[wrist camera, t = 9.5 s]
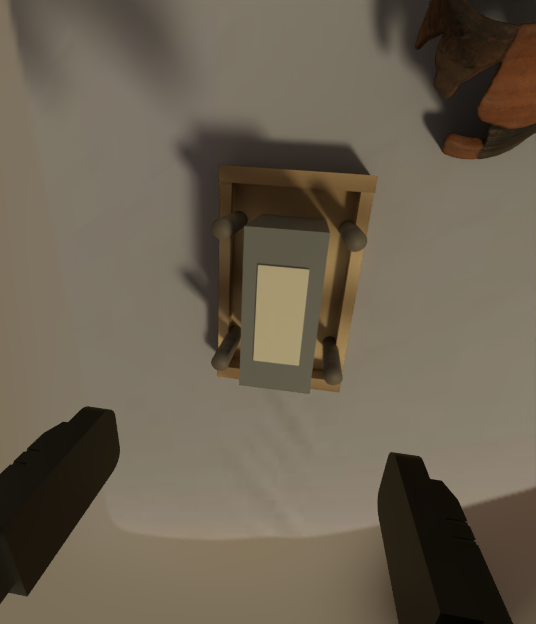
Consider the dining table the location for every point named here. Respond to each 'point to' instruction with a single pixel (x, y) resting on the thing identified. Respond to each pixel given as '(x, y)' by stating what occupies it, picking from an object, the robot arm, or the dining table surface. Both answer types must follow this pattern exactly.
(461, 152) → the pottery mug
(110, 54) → the dining table surface
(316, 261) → the block
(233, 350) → the pin tray
